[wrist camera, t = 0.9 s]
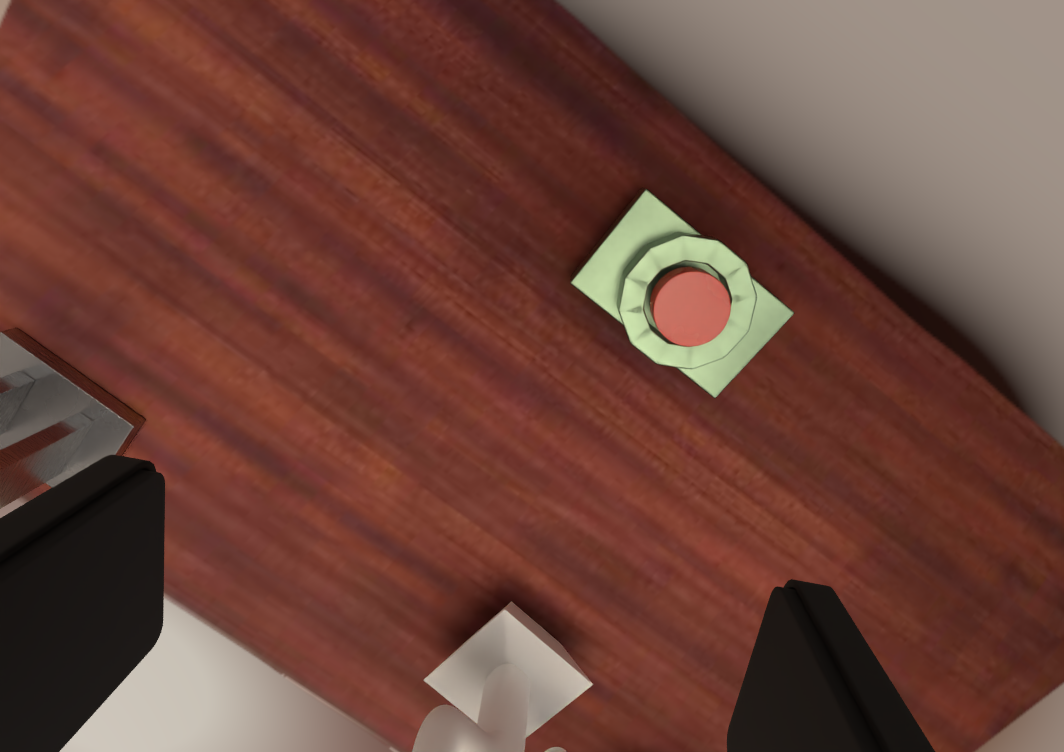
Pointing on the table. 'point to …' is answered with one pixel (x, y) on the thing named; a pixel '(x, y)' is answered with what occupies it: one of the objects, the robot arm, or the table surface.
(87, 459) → the bracket
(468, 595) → the table surface
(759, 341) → the button box
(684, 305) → the button
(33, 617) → the robot arm
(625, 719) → the table surface
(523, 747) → the figurine
